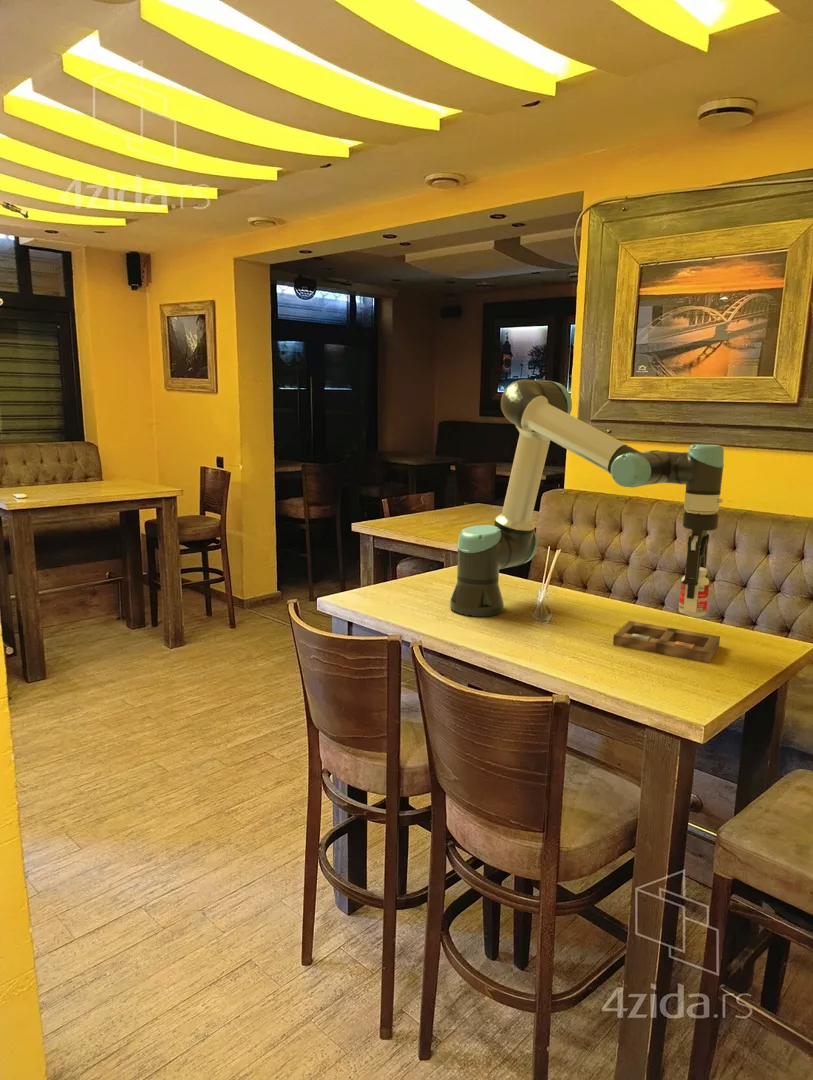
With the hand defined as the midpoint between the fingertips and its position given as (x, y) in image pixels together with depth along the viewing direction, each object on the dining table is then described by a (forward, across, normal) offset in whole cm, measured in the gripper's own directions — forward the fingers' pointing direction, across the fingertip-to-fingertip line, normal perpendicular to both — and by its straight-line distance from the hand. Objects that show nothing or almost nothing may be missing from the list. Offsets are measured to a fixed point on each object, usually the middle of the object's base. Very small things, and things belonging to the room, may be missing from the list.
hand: (692, 607), depth 167 cm
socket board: (+10, 0, +5) cm, 12 cm away
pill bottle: (+2, 0, 0) cm, 2 cm away
